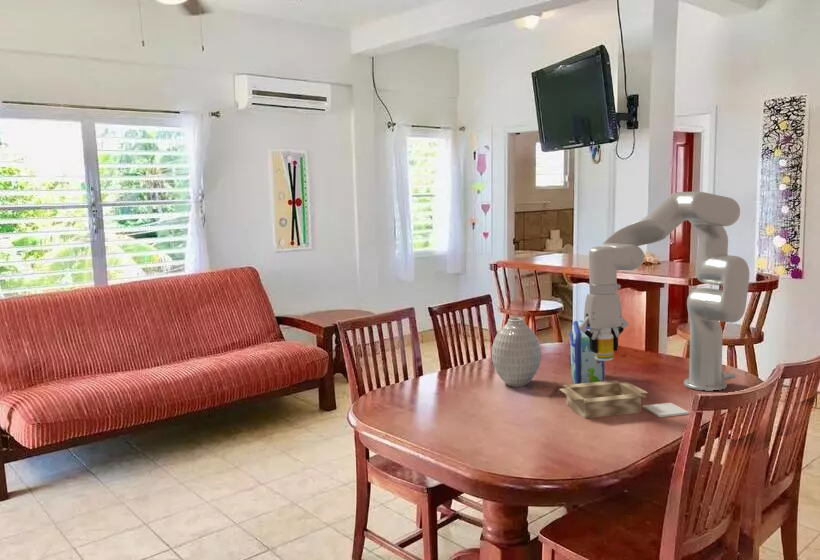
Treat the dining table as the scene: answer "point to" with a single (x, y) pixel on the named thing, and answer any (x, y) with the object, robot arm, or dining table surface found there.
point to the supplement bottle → (604, 345)
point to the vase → (516, 353)
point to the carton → (603, 398)
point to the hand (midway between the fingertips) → (603, 350)
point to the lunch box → (584, 358)
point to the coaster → (665, 409)
